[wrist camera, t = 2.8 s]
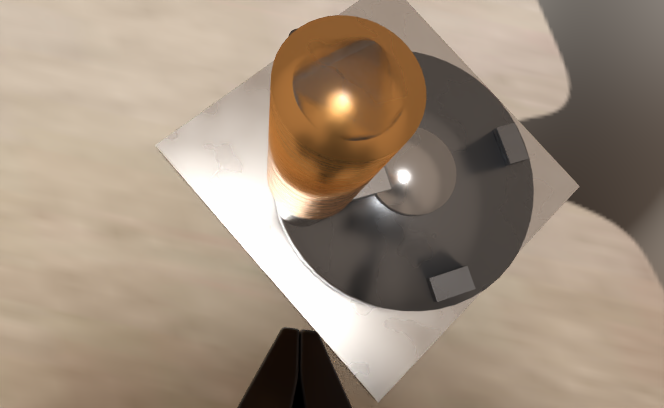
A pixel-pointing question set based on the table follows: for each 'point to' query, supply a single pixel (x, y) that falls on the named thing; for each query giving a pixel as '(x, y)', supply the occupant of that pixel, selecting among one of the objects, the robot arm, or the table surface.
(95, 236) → the table surface
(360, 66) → the metal joystick
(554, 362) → the table surface
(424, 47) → the flange plate
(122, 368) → the table surface
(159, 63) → the table surface
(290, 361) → the robot arm
